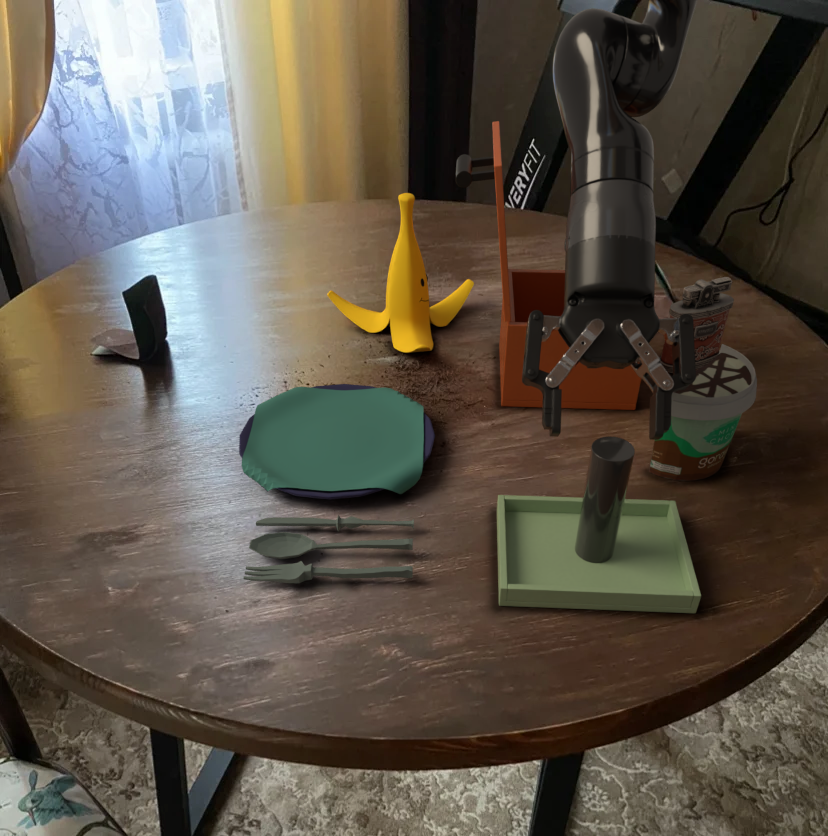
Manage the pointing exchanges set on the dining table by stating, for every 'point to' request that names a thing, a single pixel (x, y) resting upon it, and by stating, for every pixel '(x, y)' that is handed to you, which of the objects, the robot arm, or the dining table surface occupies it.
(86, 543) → the dining table surface
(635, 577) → the tray
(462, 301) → the banana peel
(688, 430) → the food container
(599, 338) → the robot arm
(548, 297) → the orange open box
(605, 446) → the black cylinder
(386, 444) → the cutlery set
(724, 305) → the lighter
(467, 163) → the box lid
